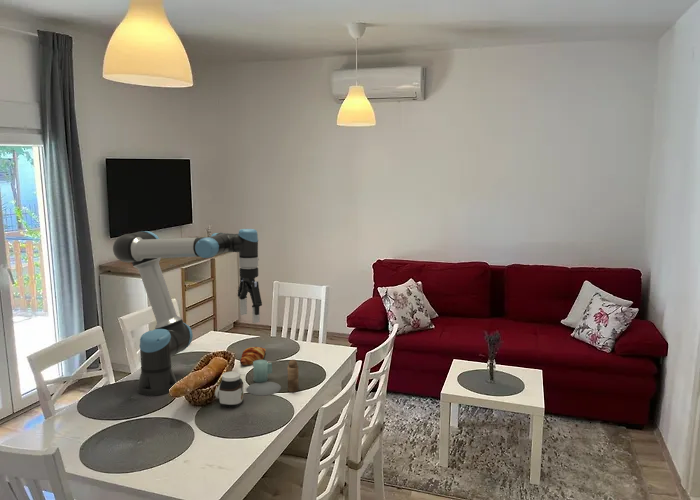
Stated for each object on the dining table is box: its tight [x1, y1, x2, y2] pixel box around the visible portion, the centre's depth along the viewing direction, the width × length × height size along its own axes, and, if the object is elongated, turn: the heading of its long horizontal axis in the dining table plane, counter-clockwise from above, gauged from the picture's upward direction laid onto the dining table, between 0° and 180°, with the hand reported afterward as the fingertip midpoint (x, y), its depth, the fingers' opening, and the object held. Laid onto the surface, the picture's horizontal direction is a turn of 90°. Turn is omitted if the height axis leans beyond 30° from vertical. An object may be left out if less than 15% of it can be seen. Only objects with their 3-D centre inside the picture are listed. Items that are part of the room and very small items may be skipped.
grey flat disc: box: [245, 381, 282, 397], centre depth 222 cm, size 14×14×1 cm
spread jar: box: [214, 371, 244, 408], centre depth 208 cm, size 12×11×12 cm
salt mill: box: [286, 359, 300, 393], centre depth 220 cm, size 4×4×13 cm
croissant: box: [239, 346, 267, 366], centre depth 255 cm, size 21×10×8 cm, turn 161°
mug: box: [252, 359, 273, 383], centre depth 231 cm, size 8×6×8 cm
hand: (249, 318), depth 222 cm, fingers open, 13 cm apart
